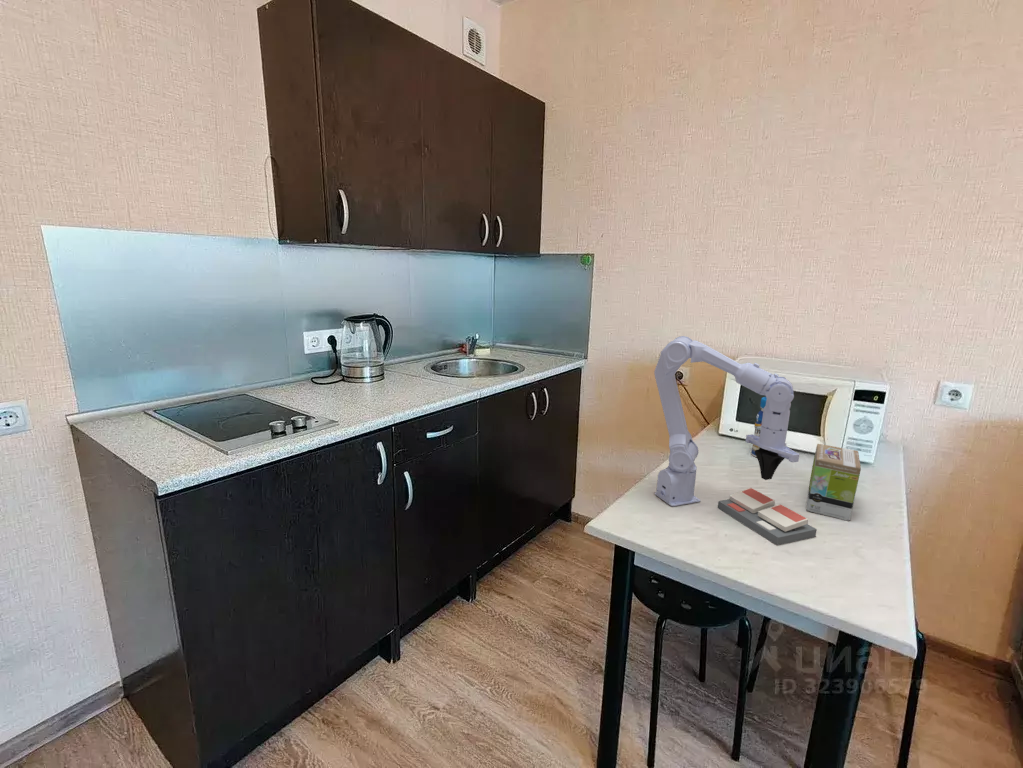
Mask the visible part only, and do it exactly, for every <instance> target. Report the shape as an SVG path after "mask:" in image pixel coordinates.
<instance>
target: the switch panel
mask: <svg viewBox="0 0 1023 768" xmlns="http://www.w3.org/2000/svg"><path fill="white" fill-rule="evenodd" d="M717 504H718V505H717V509H719V510H720V511H722V512H723V513H725V514H727V515H728V516H729V517H732V519H734V520H736V521H737V522H738V523H741V524H742V525H744V526H745V527H747V528H749V529H750V530H752V531H753V532H754V533H756V534H758V535H759V536H761V537H763V538H765V539H766V540H768V541H769V542H771V543H772V544H774V545H776V546H781V545H785V544H790V543H794V542H799V541H802V540H808V539H812V538H815V537H816V535H817V530H818V529H817V528H815V527H813V526H812V525H810V524H809V523H808V524H806V525H803V526H800V527H797V528H794V529H792V530H789V531H786V532H785V531H783V530H781V529H779V528H778V527H776V526H774V525H773V524H771V523H769V522H768V521H766V520H764V519H763V518H761V517H759V516H758V512H756V513H754V514H753V513H751V512H750V511H748V510H746V509H745V508H743V507H741V506H739V505H738V504H736V503H734V502H733V501H731V500H730V498H728V499H722V500H718V502H717ZM773 506H775V505H773ZM773 506H771V507H773ZM768 508H770V507H768ZM766 509H767V508H766ZM763 510H764V509H763Z"/></svg>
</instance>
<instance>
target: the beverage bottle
mask: <svg viewBox="0 0 1023 768" xmlns="http://www.w3.org/2000/svg"><path fill="white" fill-rule="evenodd" d="M766 400H767V398H766V396H763V397H761V399H760V403H759V406H760V407H759V408H760V410H759V411H758V412H757V414H756V418H755V419H756V421H755V422H754V433H753V435H755V436H759V437H760V431H761V425H762V418H763V411H764V407H765V406H766ZM759 448H760V447H759V446H756V445H754V444H752V448H751V453H750V454H751V455H752V456H753V457H755V458H757V457H756V455H755V450H759Z"/></svg>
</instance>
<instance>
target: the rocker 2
mask: <svg viewBox="0 0 1023 768" xmlns="http://www.w3.org/2000/svg"><path fill="white" fill-rule="evenodd" d="M758 516H759V517H761V518H763V519H764V520H766V521H768V522H769V523H771V524H773V525H774V526H776V527H778V528H779V529H781V530H783V531H785V532H786V531H789V530H792V529H794V528H797V527H800V526H803V525H806V524H808V525H809V518H807V517H805V516H802V515H801V514H800V513H798V512H795V511H794V510H791V508H788V507H787V506H785V505H783V504H780V503H779V504H775V505H774V506H773V507H770V508H767V509H764V510H761V511H758Z"/></svg>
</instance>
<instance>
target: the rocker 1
mask: <svg viewBox="0 0 1023 768" xmlns="http://www.w3.org/2000/svg"><path fill="white" fill-rule="evenodd" d="M728 499H730V500H731V501H733V502H734V503H736V504H738V505H739V506H741V507H743V508H745V509H746V510H748V511H750V512H751V513H753V514H754V513H756V512H758V511H761V510H763V509H766V508H768V507H771V506H773V505H774V506H776V500H775V499H773V498H771V497H768V495H766V494H763V493H762V492H760V491H758V490H756V489H754V488H752V487H748V488H746V489H743V490H741V491H738V492H735V493H733V494H730V495H729V498H728Z"/></svg>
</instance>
